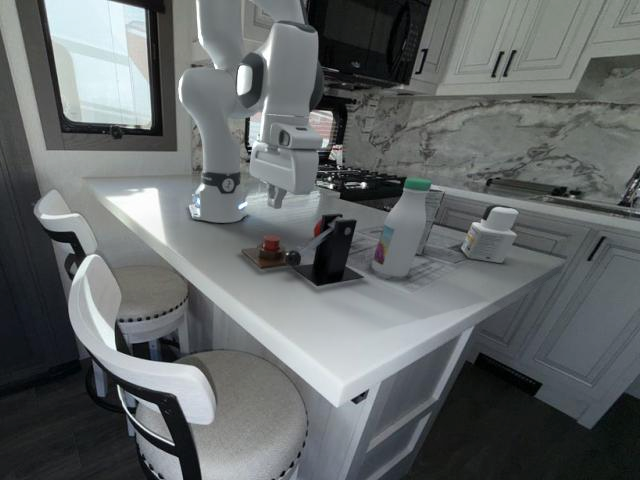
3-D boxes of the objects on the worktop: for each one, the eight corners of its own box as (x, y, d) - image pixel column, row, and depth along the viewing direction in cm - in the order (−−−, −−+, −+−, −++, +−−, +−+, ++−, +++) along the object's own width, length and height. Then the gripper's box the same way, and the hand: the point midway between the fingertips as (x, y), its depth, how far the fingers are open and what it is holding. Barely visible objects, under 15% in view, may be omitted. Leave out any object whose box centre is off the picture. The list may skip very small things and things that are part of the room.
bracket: (316, 290, 60) (329, 226, 53) (291, 271, 67) (300, 213, 60) (362, 281, 64) (380, 222, 58) (335, 264, 71) (347, 209, 65)
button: (260, 246, 70) (261, 236, 69) (273, 245, 72) (274, 234, 70) (267, 252, 68) (268, 241, 66) (281, 250, 69) (283, 239, 68)
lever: (293, 272, 59) (288, 260, 57) (284, 265, 61) (279, 253, 59) (350, 231, 60) (347, 218, 58) (339, 226, 62) (336, 213, 60)
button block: (241, 255, 73) (241, 241, 71) (277, 251, 77) (278, 238, 75) (260, 273, 65) (261, 258, 64) (299, 267, 69) (301, 252, 67)
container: (460, 248, 86) (481, 201, 79) (491, 253, 84) (516, 205, 77) (467, 258, 80) (491, 208, 73) (502, 263, 78) (529, 212, 71)
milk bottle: (409, 272, 70) (443, 180, 60) (403, 284, 64) (440, 184, 54) (374, 263, 74) (401, 174, 63) (366, 273, 68) (394, 178, 58)
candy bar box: (392, 239, 90) (411, 180, 81) (410, 241, 89) (431, 182, 81) (402, 253, 80) (424, 188, 72) (422, 255, 80) (447, 190, 71)
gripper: (245, 128, 65) (240, 195, 72) (298, 138, 49) (286, 222, 56) (271, 130, 67) (264, 194, 74) (329, 139, 52) (314, 220, 59)
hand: (274, 207), depth 65 cm, fingers closed
